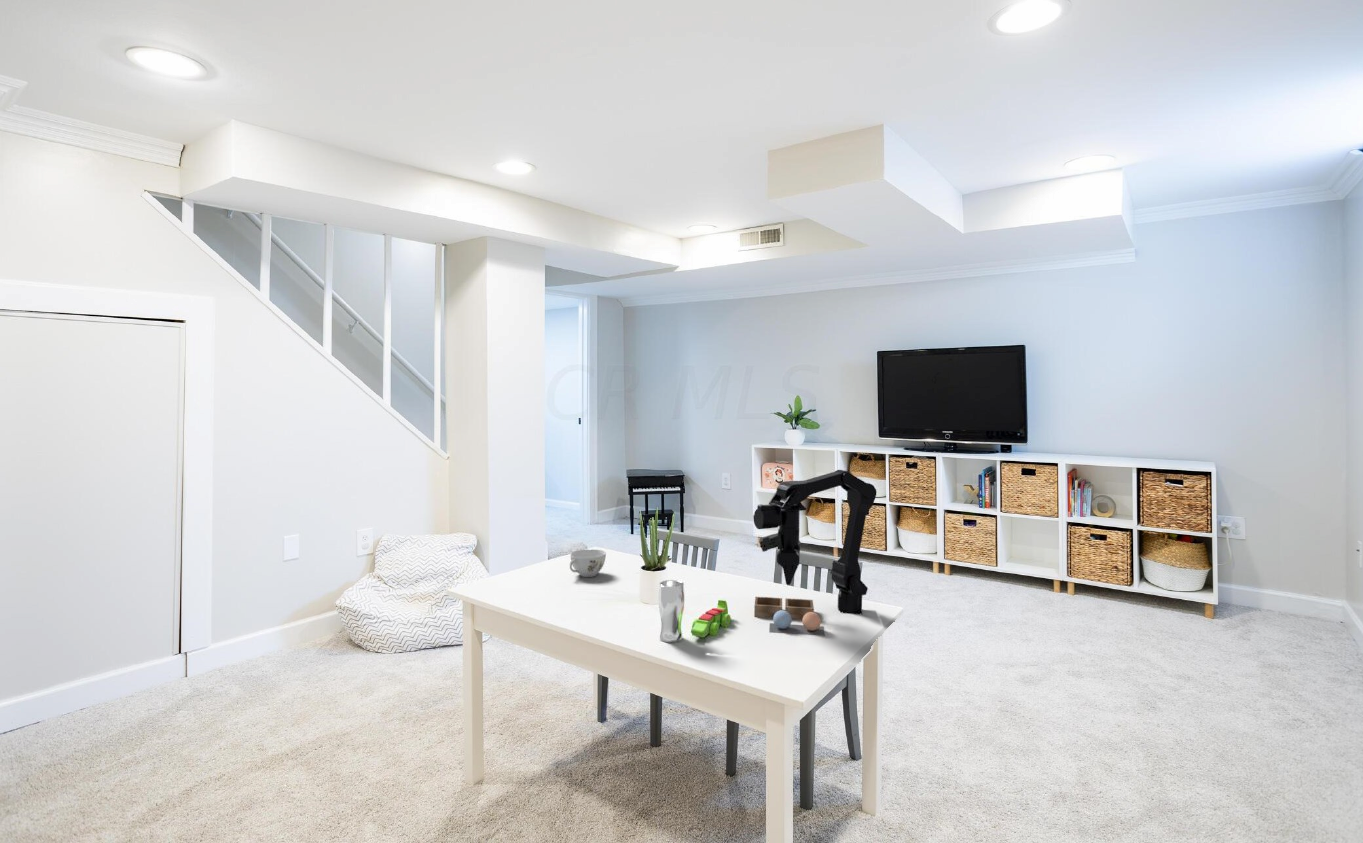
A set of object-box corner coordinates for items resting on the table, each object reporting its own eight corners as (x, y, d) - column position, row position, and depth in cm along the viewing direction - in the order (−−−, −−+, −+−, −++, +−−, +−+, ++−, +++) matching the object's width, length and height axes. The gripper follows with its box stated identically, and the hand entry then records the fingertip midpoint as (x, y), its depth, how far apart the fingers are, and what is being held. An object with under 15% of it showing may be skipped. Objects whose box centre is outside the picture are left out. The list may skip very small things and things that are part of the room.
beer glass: (657, 633, 183) (658, 579, 182) (682, 633, 183) (683, 579, 182) (658, 643, 176) (659, 587, 175) (685, 643, 176) (685, 587, 175)
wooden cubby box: (812, 612, 201) (812, 599, 200) (813, 622, 193) (813, 608, 192) (785, 611, 202) (785, 598, 202) (785, 620, 194) (785, 607, 194)
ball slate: (791, 625, 188) (791, 608, 188) (791, 632, 183) (791, 614, 183) (773, 624, 189) (773, 607, 189) (773, 631, 184) (773, 613, 184)
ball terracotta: (820, 627, 187) (820, 609, 187) (821, 634, 182) (821, 616, 182) (801, 626, 188) (802, 608, 187) (802, 632, 183) (802, 614, 183)
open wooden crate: (781, 611, 202) (782, 598, 202) (782, 620, 194) (782, 606, 194) (755, 609, 203) (755, 596, 203) (754, 618, 195) (754, 605, 195)
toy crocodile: (705, 644, 176) (706, 622, 175) (683, 639, 179) (684, 617, 179) (736, 621, 193) (737, 601, 193) (716, 617, 196) (716, 597, 196)
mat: (823, 628, 188) (823, 626, 188) (825, 637, 181) (825, 635, 181) (769, 625, 190) (769, 623, 190) (769, 634, 183) (769, 632, 183)
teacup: (589, 568, 246) (589, 546, 246) (613, 574, 238) (613, 552, 238) (557, 577, 235) (557, 554, 234) (582, 584, 227) (582, 560, 226)
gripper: (763, 518, 202) (762, 569, 203) (758, 532, 184) (758, 587, 185) (800, 519, 200) (799, 571, 201) (799, 534, 182) (799, 590, 183)
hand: (788, 579), depth 193 cm, fingers open, 9 cm apart
